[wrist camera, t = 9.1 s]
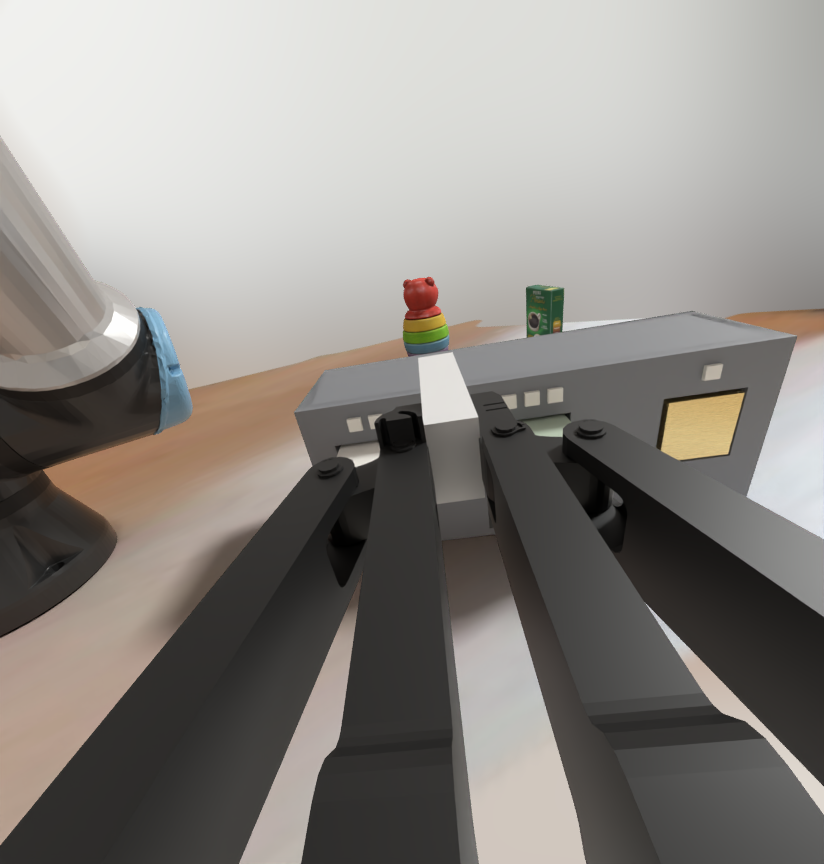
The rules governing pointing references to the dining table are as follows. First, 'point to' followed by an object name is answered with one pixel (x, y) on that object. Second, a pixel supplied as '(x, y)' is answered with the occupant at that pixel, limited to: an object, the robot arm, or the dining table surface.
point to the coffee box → (544, 310)
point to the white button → (360, 452)
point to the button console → (575, 390)
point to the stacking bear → (423, 319)
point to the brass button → (699, 424)
